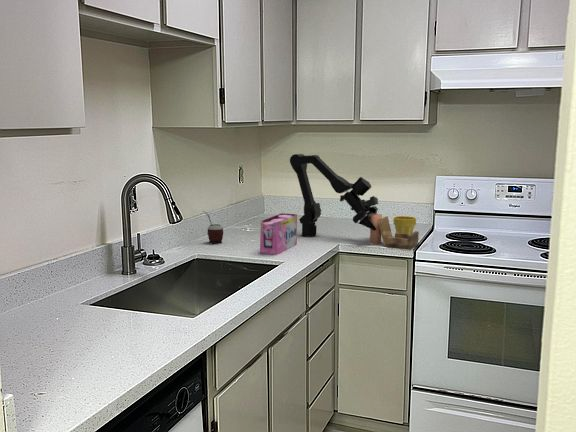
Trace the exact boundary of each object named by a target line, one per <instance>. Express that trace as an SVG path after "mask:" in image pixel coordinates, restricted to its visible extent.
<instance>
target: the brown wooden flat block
mask: <svg viewBox="0 0 576 432" xmlns="http://www.w3.org/2000/svg"><path fill="white" fill-rule="evenodd" d="M378 222H379V227H380V231H381V240H382V244H383V246H384V247H387V237H393V233H392V229H391V224H390V221H389V216H382V218H381V219H379V220H378Z"/></svg>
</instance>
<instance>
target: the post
mask: <svg viewBox="0 0 576 432" xmlns="http://www.w3.org/2000/svg"><path fill="white" fill-rule="evenodd" d="M381 218H383V214H382V213H377V214H371V222H372V223H373V225H374V226H375V228H376V230H375V231H374V230H372V229H370V228H369V243H370V244H371V243H372V244H371V245H381V244H382V235H381V231H380V227H379V222H378V220H379V219H381ZM380 243H381V244H380Z"/></svg>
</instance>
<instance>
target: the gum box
mask: <svg viewBox="0 0 576 432" xmlns="http://www.w3.org/2000/svg"><path fill="white" fill-rule="evenodd" d="M259 233H260V236H259V237H260V241H259V242H260V243H259V253H260V254H266V255H278V254H280V253H283V252H285V251H286V250H288V249H291V248H293V247H294V246H296V245H298V243H297V241H298V213H297V214H296V213H286V212H285V213H283V212H282V213H278V214H276V215H274V216H271V217H270V216H269V217H267V218H264V219H263V220H260V232H259Z"/></svg>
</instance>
